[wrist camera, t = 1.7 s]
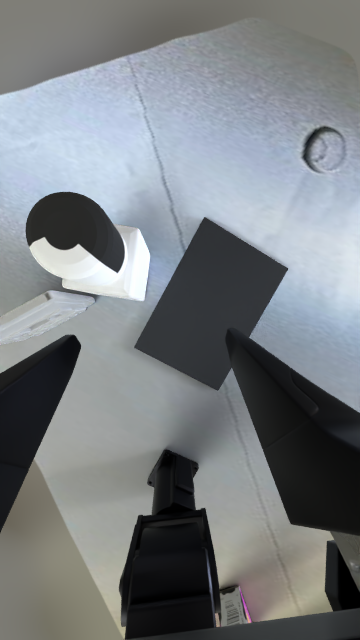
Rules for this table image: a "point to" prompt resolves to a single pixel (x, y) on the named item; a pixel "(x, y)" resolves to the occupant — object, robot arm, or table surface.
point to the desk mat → (210, 303)
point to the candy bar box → (233, 608)
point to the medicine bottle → (87, 247)
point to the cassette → (41, 315)
